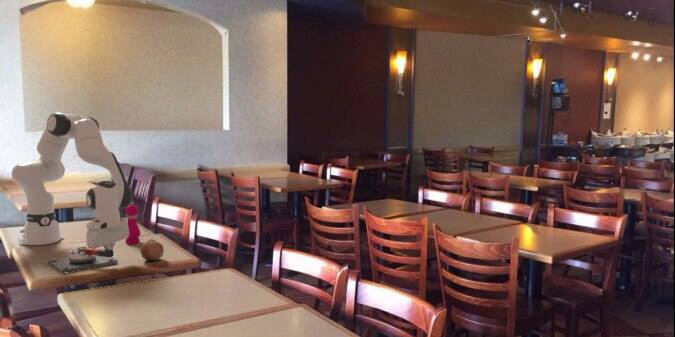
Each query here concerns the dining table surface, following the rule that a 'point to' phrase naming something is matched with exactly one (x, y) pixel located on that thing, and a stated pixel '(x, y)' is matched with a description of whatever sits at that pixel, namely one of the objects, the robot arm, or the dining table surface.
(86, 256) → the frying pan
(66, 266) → the flange plate
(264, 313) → the dining table surface
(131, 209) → the pepper mill
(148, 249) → the onion
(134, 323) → the dining table surface
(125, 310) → the dining table surface
